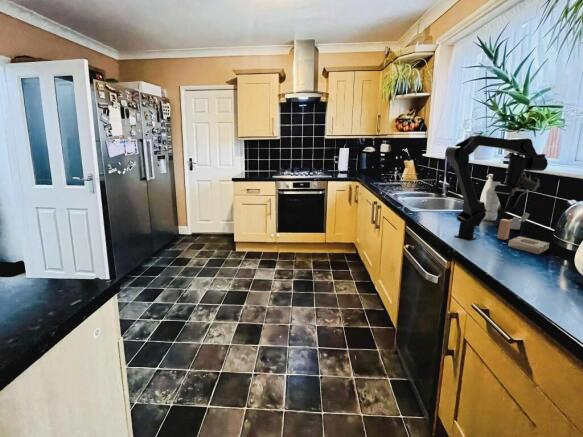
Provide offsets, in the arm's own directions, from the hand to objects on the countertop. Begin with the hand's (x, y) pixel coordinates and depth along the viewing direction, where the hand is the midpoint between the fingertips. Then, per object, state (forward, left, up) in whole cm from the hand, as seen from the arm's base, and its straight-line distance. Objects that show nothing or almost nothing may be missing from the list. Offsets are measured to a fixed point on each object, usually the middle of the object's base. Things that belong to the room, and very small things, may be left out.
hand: (508, 208), depth 132 cm
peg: (0, 0, -13) cm, 13 cm away
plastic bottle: (+28, +18, -13) cm, 36 cm away
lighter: (+23, +3, -13) cm, 27 cm away
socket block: (-5, -11, -13) cm, 18 cm away
